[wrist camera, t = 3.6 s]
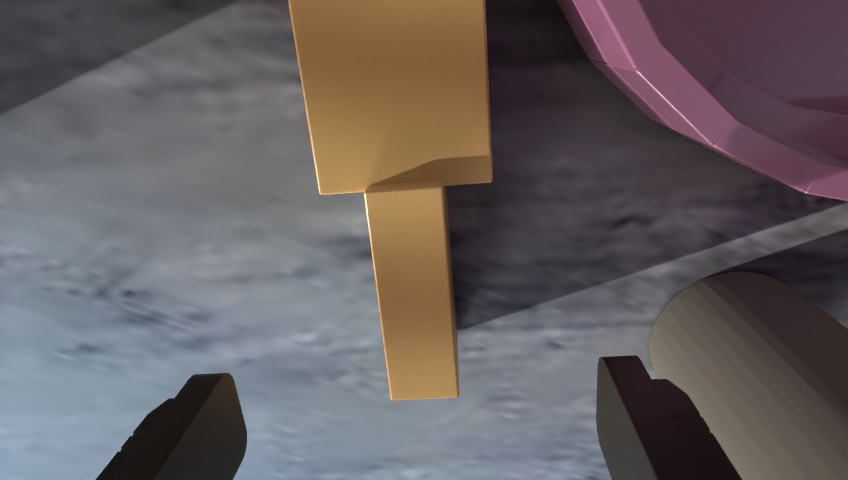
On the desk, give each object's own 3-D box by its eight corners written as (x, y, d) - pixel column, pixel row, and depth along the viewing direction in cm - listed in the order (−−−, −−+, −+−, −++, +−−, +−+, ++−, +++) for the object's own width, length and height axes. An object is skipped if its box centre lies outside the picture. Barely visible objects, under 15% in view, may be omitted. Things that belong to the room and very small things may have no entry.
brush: (493, 330, 21) (503, 396, 17) (365, 337, 21) (347, 403, 17) (477, -19, 16) (485, -32, 13) (316, -2, 17) (278, -11, 13)
